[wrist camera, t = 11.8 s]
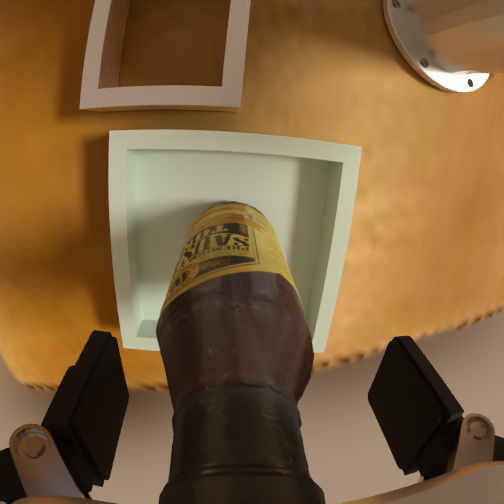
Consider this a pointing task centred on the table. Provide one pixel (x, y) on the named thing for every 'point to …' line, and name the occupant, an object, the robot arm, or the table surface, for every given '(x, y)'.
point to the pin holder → (164, 96)
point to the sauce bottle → (235, 366)
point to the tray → (219, 191)
